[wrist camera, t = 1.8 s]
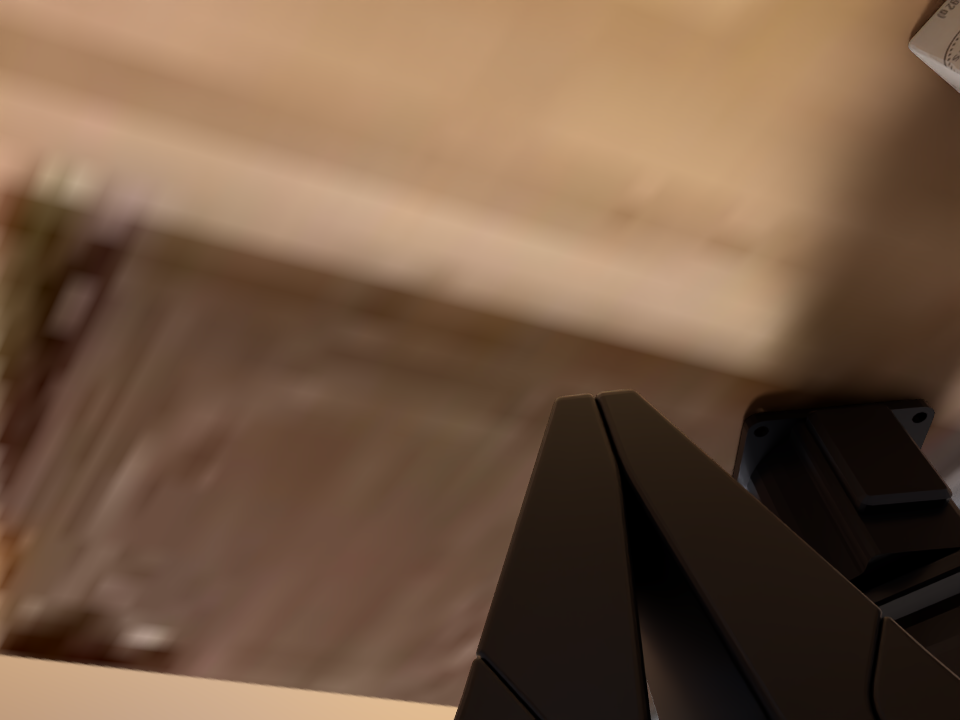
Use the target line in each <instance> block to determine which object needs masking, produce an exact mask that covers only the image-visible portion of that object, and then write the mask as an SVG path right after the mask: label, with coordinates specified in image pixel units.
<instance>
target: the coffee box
mask: <svg viewBox="0 0 960 720" xmlns="http://www.w3.org/2000/svg"><path fill="white" fill-rule="evenodd" d="M909 48H910V50H911V51H912V52H913V53H914V54H915V55H916V56H917V57H918V58H920V59H921V60H922V61H923V62H924V63H925V64H927V65H928V66H929V67H930V68H931V69H932V70H934V71H935V72H936V73H937V74H938V75H939V76H941V77H942V78H943V79H944V80H945V81H946V82H947V83H948V84H950V85H951V86H952V87H953V88H954V89H955V90H956V91H958V92H959V93H960V0H946V2H945V3H944V4H943V5H942V6H941V7H940V8H939V9H938V10H937V11H936V13H935V14H934V15H933V16H932V17H931V18H930V19H929V20H928V21H927V22H926V24H925V25H924V26H923V27H922V28H921V29H920V30H919V31H918V32H917V33H916V35H915V36H914V37H913V38H912V39H911V41H910V42H909Z"/></svg>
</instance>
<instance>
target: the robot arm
mask: <svg viewBox="0 0 960 720" xmlns="http://www.w3.org/2000/svg"><path fill="white" fill-rule="evenodd" d="M934 413H935V412H934V410H933V409H932V407H931V406H930V405H929V404H928V402H927V401H925V400H922V399H915V400H904V401H892V402H881V403H870V404H859V405H847V406H836V407H825V408H814V409H803V410H791V411H780V412H769V413H759V414H755V415H752V416H751V417H749V418H748V419H747V420H746V421H745V422H744V425H743V429H742V434H741V439H740V444H739V449H738V454H737V459H736V464H735V469H734V474H733V477H732V476H731V475H730V474H729V473H727V472H726V471H725V470H724V469H723V468H722V467H721V466H720V465H719V464H717V463H716V462H715V461H714V460H713V459H712V458H711V457H710V456H708V455H707V454H706V453H705V452H704V451H703V450H702V449H701V448H699V447H698V446H697V445H696V444H695V443H694V442H693V441H692V440H690V439H689V438H688V437H687V436H686V435H685V434H684V433H683V432H682V431H680V430H679V429H678V428H677V427H676V426H675V425H674V424H673V423H671V422H670V421H669V420H668V419H667V418H666V417H665V416H664V415H662V414H661V413H660V412H659V411H658V410H657V409H656V408H655V407H654V406H652V405H651V404H650V403H649V402H648V401H647V400H646V399H645V398H643V397H642V396H641V395H640V394H639V393H638V392H636V391H634V390H632V389H623V390H614V391H605V392H600V393H598V394H597V395H596V397H594V396H593V395H591V394H588V393H586V394H577V395H568V396H560V397H558V398H557V399H556V400H555V402H554V404H553V408H552V411H551V414H550V417H549V421H548V424H547V427H546V430H545V433H544V437H543V440H542V443H541V446H540V449H539V453H538V456H537V459H536V462H535V465H534V469H533V472H532V475H531V478H530V482H529V485H528V488H527V491H526V494H525V498H524V501H523V504H522V507H521V510H520V514H519V517H518V520H517V523H516V526H515V530H514V533H513V536H512V539H511V543H510V546H509V549H508V552H507V555H506V559H505V562H504V565H503V568H502V571H501V575H500V578H499V581H498V584H497V587H496V591H495V594H494V597H493V600H492V604H491V607H490V610H489V613H488V616H487V620H486V623H485V626H484V629H483V632H482V636H481V639H480V642H479V645H478V648H477V652H476V655H477V659H475V660H474V661H473V663H472V666H471V669H470V672H469V676H468V679H467V682H466V685H465V688H464V692H463V695H462V698H461V701H460V704H459V707H458V709H457V712H456V715H455V718H454V720H651V715H650V707H649V698H648V690H647V683H648V686H649V690H650V693H651V696H652V699H653V702H654V705H655V709H656V712H657V715H658V718H659V720H960V510H959V508H958V507H957V506H956V504H955V503H954V501H953V500H952V499H951V496H952V491H951V490H950V488H949V487H948V486H947V484H946V483H945V482H944V480H943V479H942V478H941V476H940V475H939V474H938V472H937V471H936V469H935V468H934V467H933V465H932V464H931V463H930V461H929V460H928V459H927V457H926V456H925V455H924V453H923V452H922V451H921V447H922V445H923V442H924V440H925V437H926V435H927V432H928V430H929V427H930V425H931V423H932V420H933V418H934ZM762 426H763V427H762ZM759 427H761V428H759ZM757 428H759V429H757ZM646 680H647V681H646Z"/></svg>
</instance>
